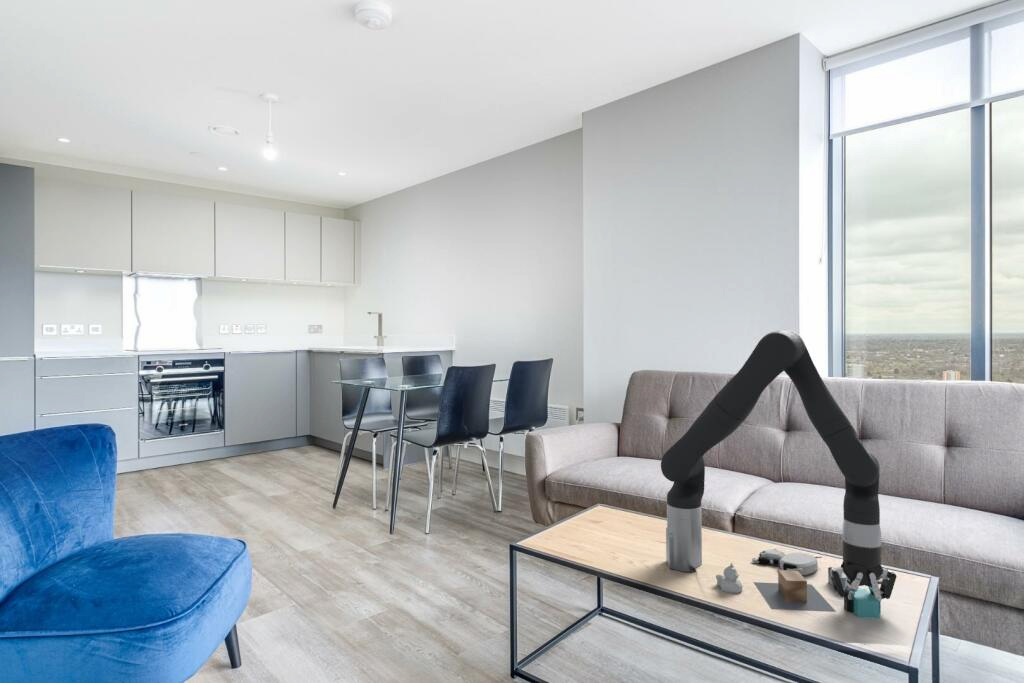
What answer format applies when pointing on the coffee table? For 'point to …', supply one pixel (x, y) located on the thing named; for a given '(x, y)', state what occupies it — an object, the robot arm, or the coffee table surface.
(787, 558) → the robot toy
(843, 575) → the grey brick
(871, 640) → the coffee table surface
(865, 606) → the teal brick
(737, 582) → the rubber duck
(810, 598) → the base plate
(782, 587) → the base brick
